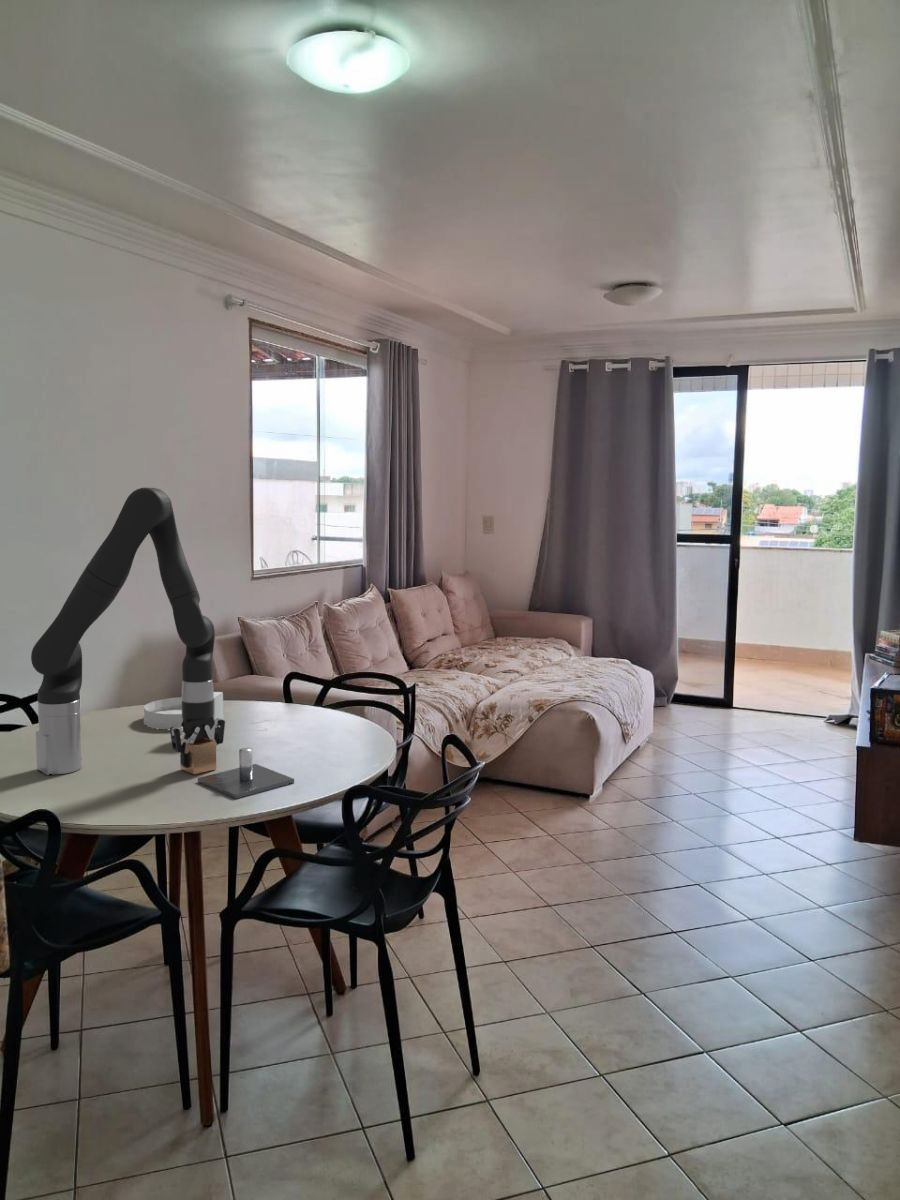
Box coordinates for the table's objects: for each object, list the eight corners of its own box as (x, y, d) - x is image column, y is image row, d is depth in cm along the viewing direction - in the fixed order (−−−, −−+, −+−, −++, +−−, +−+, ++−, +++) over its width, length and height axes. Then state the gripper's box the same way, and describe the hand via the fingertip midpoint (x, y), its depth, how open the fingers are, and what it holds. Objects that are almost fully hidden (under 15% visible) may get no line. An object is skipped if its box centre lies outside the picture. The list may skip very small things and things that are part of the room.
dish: (193, 708, 274) (192, 693, 274) (236, 721, 261) (235, 704, 260) (128, 721, 257) (128, 705, 257) (171, 735, 243) (170, 718, 243)
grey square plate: (235, 799, 193) (235, 764, 192) (197, 782, 204) (197, 749, 203) (294, 783, 205) (294, 750, 204) (255, 767, 216) (255, 736, 215)
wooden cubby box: (193, 774, 209) (193, 746, 208) (180, 768, 213) (180, 740, 212) (216, 769, 213) (216, 741, 212) (202, 763, 217) (202, 736, 216)
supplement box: (224, 735, 244) (224, 691, 242) (215, 743, 236) (214, 697, 235) (199, 734, 244) (198, 690, 243) (188, 741, 237) (188, 696, 235)
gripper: (178, 705, 203) (179, 774, 205) (231, 696, 214) (232, 762, 215) (162, 699, 208) (163, 767, 210) (215, 691, 219) (216, 755, 221)
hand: (198, 764), depth 213 cm, fingers closed on wooden cubby box, 6 cm apart
